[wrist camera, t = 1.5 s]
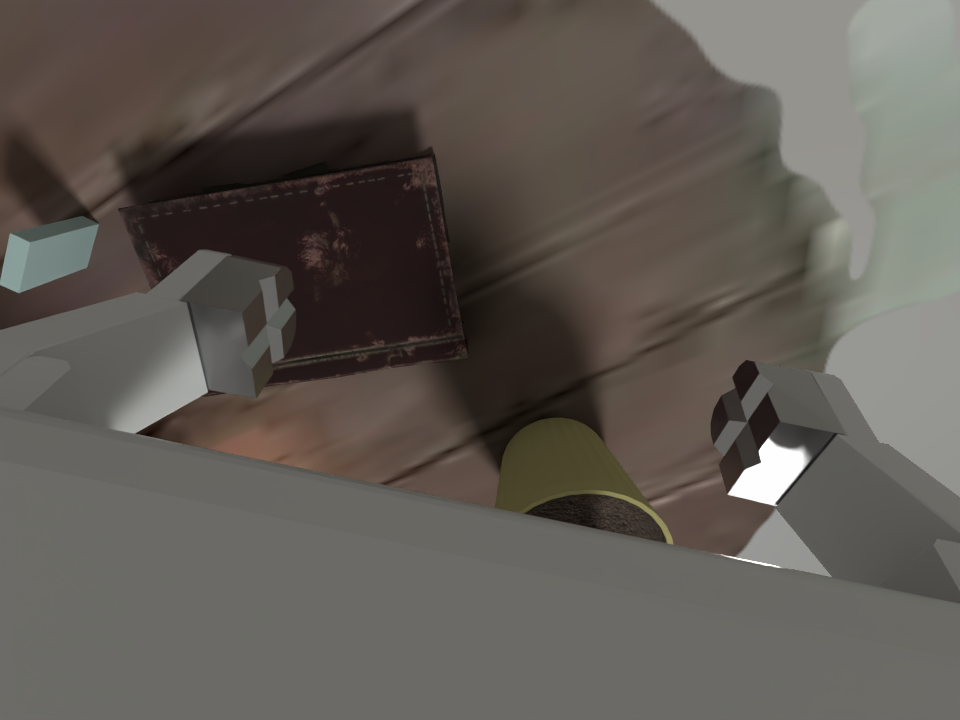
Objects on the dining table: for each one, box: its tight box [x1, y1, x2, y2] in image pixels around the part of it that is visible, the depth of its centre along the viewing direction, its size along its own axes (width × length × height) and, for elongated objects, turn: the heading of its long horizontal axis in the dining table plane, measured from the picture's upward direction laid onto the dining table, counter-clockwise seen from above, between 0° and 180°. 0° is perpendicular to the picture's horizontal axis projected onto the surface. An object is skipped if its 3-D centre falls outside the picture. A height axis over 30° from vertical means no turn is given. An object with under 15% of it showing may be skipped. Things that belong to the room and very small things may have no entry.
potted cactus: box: [495, 418, 673, 544], centre depth 44 cm, size 15×15×30 cm
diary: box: [118, 154, 468, 397], centre depth 47 cm, size 19×25×5 cm
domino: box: [0, 216, 99, 293], centre depth 44 cm, size 4×1×8 cm, turn 151°
